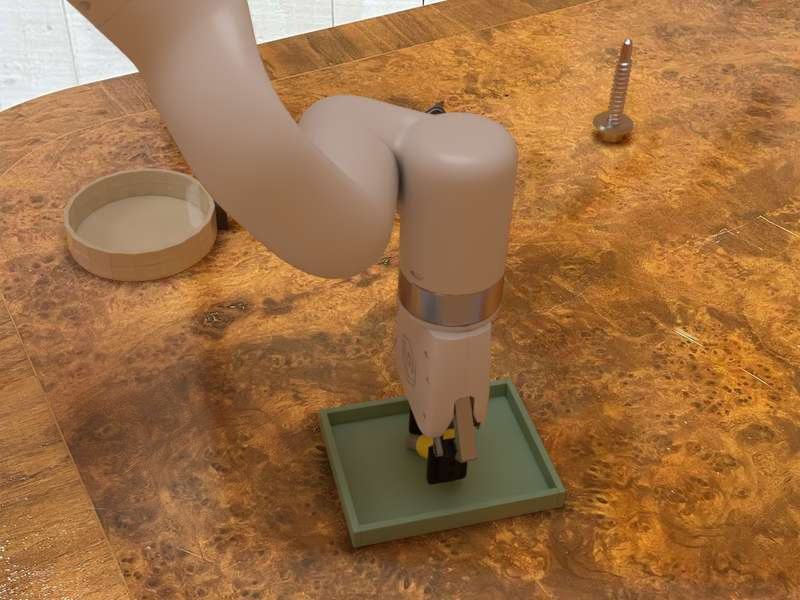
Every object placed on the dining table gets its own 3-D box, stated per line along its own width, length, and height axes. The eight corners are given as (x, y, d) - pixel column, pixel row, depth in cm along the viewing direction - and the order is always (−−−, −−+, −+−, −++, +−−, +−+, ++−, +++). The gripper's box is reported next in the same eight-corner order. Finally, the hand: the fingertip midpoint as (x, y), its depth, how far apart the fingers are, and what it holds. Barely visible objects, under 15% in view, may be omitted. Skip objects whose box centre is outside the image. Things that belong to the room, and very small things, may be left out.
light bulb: (465, 484, 86) (451, 461, 84) (404, 468, 89) (388, 445, 87) (482, 449, 88) (468, 425, 85) (421, 434, 91) (406, 411, 89)
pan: (71, 291, 104) (65, 262, 102) (67, 204, 115) (62, 177, 113) (225, 270, 107) (223, 242, 105) (207, 187, 118) (204, 161, 116)
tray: (353, 548, 82) (353, 532, 80) (319, 424, 91) (318, 409, 90) (563, 506, 85) (566, 491, 84) (508, 392, 95) (511, 377, 94)
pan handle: (217, 231, 112) (214, 206, 110) (215, 222, 113) (212, 196, 111) (311, 219, 114) (310, 194, 112) (307, 210, 115) (307, 184, 113)
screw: (621, 125, 131) (637, 145, 127) (584, 129, 130) (599, 150, 127) (640, 27, 123) (657, 46, 119) (600, 30, 122) (616, 49, 118)
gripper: (371, 220, 81) (368, 390, 93) (432, 371, 69) (420, 545, 80) (465, 208, 83) (450, 377, 95) (541, 353, 70) (514, 527, 82)
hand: (436, 453), depth 87 cm, fingers closed on light bulb, 4 cm apart
